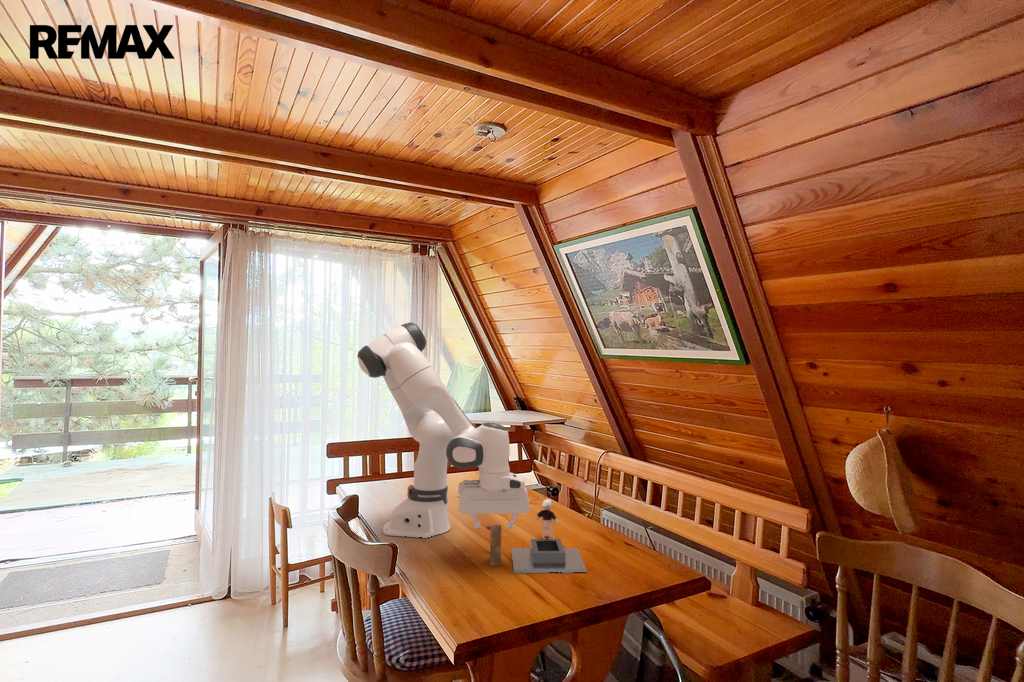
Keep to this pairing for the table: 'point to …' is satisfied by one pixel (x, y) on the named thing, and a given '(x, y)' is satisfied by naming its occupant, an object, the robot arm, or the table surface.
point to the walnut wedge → (495, 545)
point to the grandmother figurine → (547, 519)
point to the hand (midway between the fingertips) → (494, 528)
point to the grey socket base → (547, 558)
